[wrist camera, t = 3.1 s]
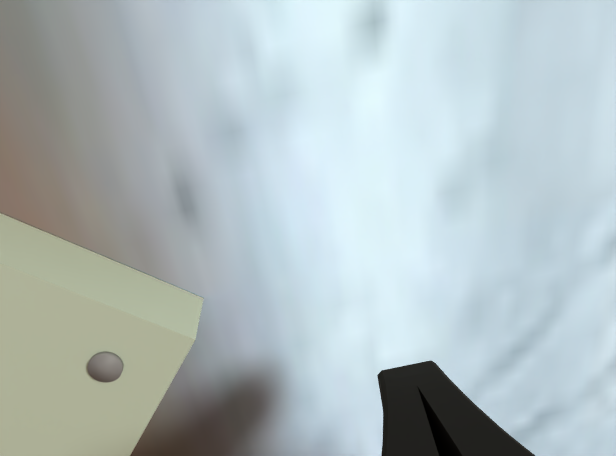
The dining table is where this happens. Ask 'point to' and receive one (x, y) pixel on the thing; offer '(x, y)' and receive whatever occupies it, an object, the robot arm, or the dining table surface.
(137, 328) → the cream toy brick
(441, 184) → the dining table surface
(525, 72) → the dining table surface
